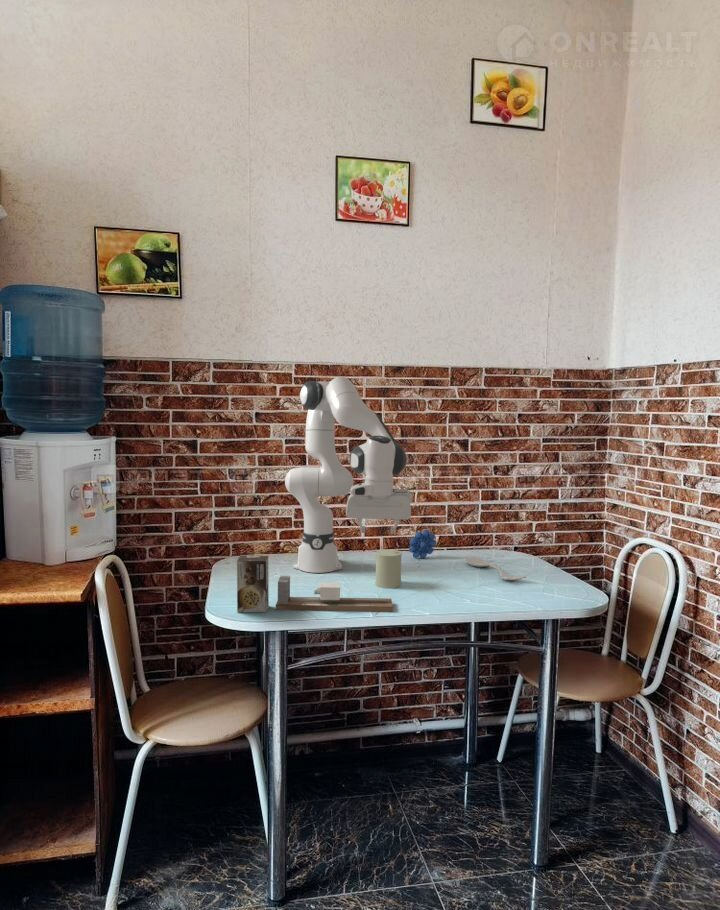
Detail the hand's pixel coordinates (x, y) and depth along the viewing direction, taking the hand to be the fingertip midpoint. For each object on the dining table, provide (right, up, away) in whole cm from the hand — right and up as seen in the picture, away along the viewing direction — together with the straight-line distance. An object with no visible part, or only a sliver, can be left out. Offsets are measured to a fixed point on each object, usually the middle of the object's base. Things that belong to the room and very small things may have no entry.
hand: (377, 532), depth 191 cm
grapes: (+20, -19, +64) cm, 70 cm away
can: (+4, -22, +26) cm, 34 cm away
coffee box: (-38, -23, -2) cm, 45 cm away
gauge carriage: (-16, -21, +1) cm, 26 cm away
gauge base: (-13, -23, +2) cm, 27 cm away
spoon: (+45, -21, +44) cm, 67 cm away
